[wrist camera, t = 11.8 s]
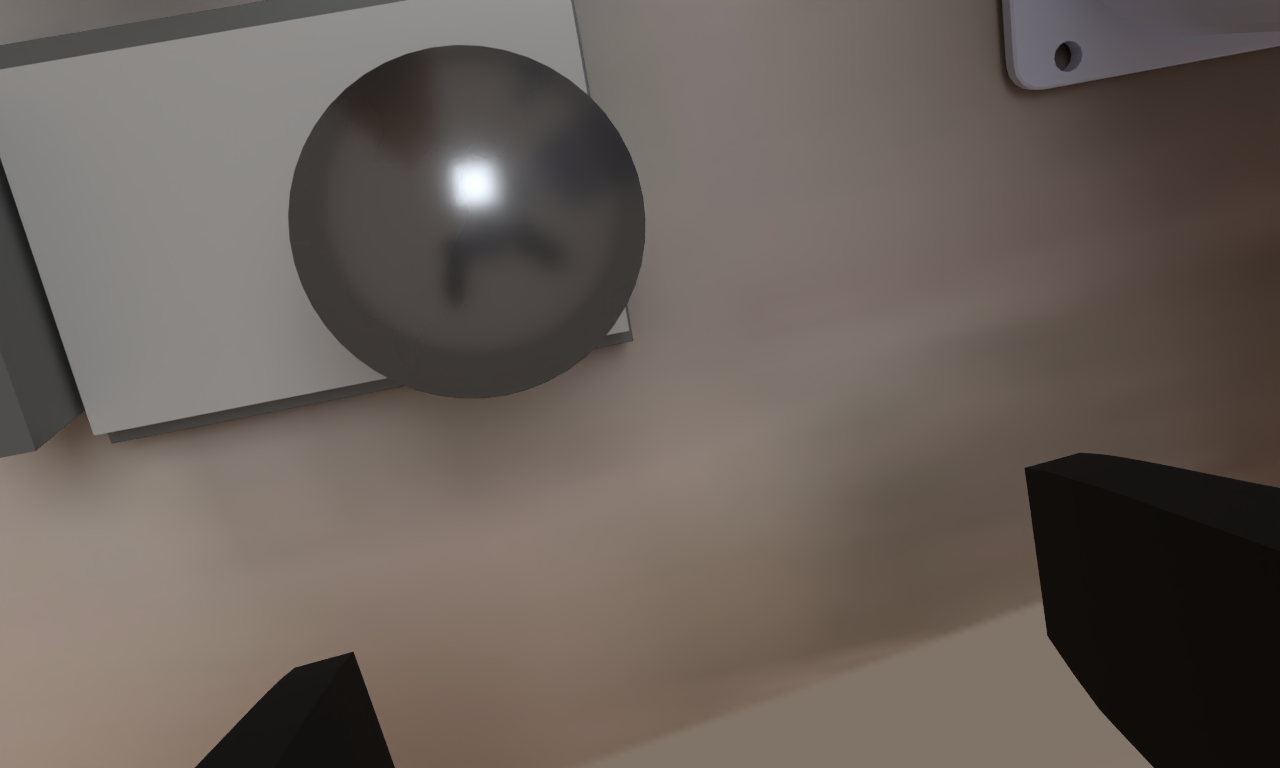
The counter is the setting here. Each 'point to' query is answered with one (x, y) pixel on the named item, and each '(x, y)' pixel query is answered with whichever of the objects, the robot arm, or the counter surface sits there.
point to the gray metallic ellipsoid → (466, 221)
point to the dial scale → (193, 206)
